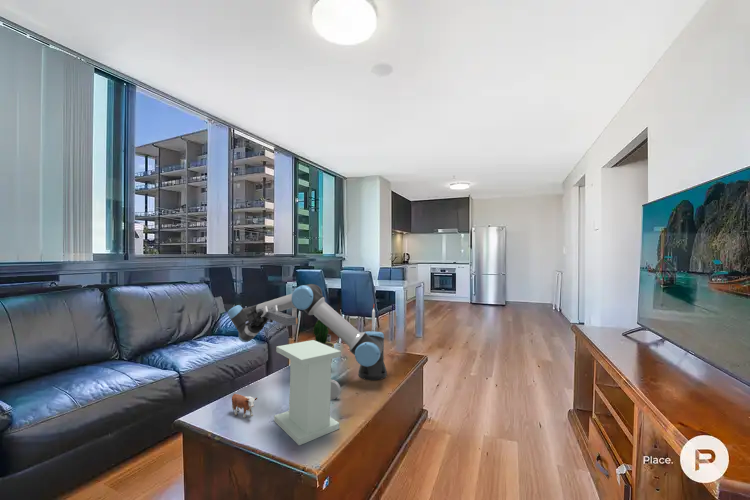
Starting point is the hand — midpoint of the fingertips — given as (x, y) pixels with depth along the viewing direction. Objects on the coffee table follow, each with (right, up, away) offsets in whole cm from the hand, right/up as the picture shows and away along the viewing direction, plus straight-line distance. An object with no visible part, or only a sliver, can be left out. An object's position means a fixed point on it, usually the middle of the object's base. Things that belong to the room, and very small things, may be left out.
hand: (271, 308), depth 141 cm
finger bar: (+3, -4, -4) cm, 7 cm away
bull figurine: (-4, -38, -21) cm, 44 cm away
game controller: (+23, -39, -4) cm, 46 cm away
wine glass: (+16, -41, +46) cm, 64 cm away
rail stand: (+22, -38, -27) cm, 52 cm away
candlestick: (+46, -42, +49) cm, 79 cm away
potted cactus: (+17, -40, +26) cm, 51 cm away
